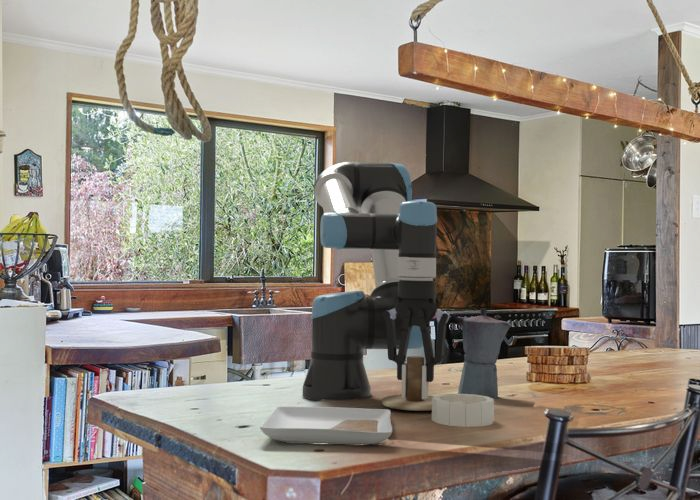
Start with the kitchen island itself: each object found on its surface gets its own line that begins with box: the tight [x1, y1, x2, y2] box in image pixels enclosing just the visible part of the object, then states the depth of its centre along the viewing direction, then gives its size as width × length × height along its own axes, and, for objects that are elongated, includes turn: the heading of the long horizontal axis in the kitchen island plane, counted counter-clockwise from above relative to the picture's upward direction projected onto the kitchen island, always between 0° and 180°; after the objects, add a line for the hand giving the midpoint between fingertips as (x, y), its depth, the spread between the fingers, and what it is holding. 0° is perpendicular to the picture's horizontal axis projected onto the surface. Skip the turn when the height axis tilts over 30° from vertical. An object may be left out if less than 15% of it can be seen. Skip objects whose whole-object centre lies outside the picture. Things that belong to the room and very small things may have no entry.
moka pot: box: [445, 307, 513, 400], centre depth 177 cm, size 10×15×20 cm, turn 78°
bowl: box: [431, 393, 495, 428], centre depth 143 cm, size 11×11×5 cm
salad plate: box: [259, 406, 393, 446], centre depth 134 cm, size 21×21×3 cm
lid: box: [381, 355, 435, 412], centre depth 155 cm, size 13×13×9 cm
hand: (414, 397), depth 155 cm, fingers closed on lid, 3 cm apart
